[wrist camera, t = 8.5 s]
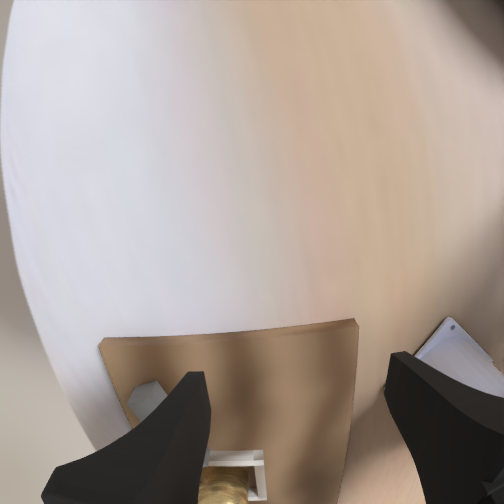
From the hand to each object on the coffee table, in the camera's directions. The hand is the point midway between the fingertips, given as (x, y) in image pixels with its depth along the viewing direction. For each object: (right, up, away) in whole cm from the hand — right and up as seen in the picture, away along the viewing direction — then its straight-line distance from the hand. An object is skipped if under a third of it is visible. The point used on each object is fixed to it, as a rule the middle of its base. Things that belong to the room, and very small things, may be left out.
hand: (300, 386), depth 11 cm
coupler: (-4, -15, +13) cm, 20 cm away
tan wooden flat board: (-2, -14, +13) cm, 19 cm away
